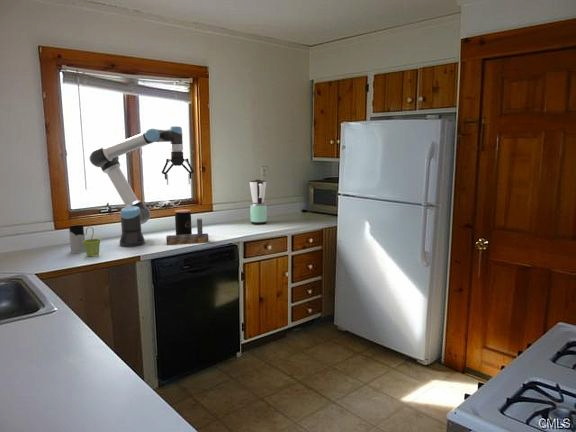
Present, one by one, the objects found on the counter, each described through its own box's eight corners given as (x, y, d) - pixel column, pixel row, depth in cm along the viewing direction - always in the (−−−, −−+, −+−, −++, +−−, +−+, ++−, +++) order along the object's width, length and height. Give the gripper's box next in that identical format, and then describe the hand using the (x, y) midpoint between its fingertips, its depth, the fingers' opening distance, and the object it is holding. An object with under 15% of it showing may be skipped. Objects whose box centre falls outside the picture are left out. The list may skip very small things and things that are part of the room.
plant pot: (94, 258, 242) (93, 242, 241) (80, 257, 245) (78, 241, 244) (105, 254, 251) (104, 239, 250) (91, 253, 254) (90, 238, 252)
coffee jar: (187, 238, 294) (186, 211, 292) (173, 237, 297) (171, 211, 294) (194, 235, 305) (193, 209, 302) (180, 234, 307) (178, 209, 304)
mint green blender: (247, 222, 356) (246, 179, 350) (263, 221, 360) (262, 178, 355) (254, 226, 338) (253, 180, 333) (270, 225, 343) (270, 180, 337)
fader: (197, 237, 280) (197, 219, 278) (197, 235, 285) (196, 218, 283) (202, 237, 281) (202, 219, 279) (202, 235, 286) (201, 218, 284)
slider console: (166, 245, 274) (166, 238, 273) (166, 242, 283) (166, 235, 282) (208, 242, 280) (208, 235, 279) (207, 239, 289) (207, 233, 288)
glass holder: (67, 251, 258) (65, 226, 256) (91, 247, 269) (89, 223, 266) (73, 253, 252) (71, 228, 250) (98, 249, 263) (96, 225, 261)
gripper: (156, 151, 273) (158, 185, 276) (197, 150, 279) (198, 184, 283) (156, 151, 280) (158, 184, 284) (196, 150, 287) (197, 183, 290)
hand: (178, 184), depth 283 cm, fingers open, 13 cm apart
